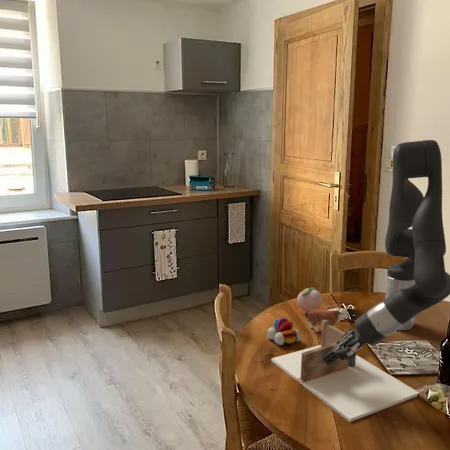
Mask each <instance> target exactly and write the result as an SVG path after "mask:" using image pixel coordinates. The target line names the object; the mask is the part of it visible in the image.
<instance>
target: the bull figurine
mask: <svg viewBox="0 0 450 450" xmlns="http://www.w3.org/2000/svg"><path fill="white" fill-rule="evenodd" d="M306 318H307V319H308V320H307V322H308V326H309V328H310V329H313V328H314V331H316V332H317V333H319V332H320V330H319V328H318V327H317V322H319V323H320V325H321V326H322V320H328V321H329V324H330V325H332V326H333V327H335V328H337V327H336V326H335V325H336V324H338V323H339V322H341V320H344V319H345V320H348V319H349V315H348V313H347V311H346V310H345V308H341V309H340V308H338V307H337V308H329V309H319V308H318V309H309V310H308V311H307V312H306Z"/></svg>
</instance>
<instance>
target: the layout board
mask: <svg viewBox="0 0 450 450" xmlns="http://www.w3.org/2000/svg"><path fill="white" fill-rule="evenodd" d="M335 327H336V326H335ZM335 327H333V326H332V325H330V323H329V321H328V320H322V325H321V339H320V340H321V341H320V344H318V345H316V346H311V347H308V348H305V349H301V350H298V351H293V352H290V353H288V354H283V355H279V356H275V357H272V358H271V359H270V361H271V362H272V363H273V364H274V365H276V366H277V367H279V369H281V370H282V371H283V372H284V373H286V374H288V376H290V377H291V378H292V379H294V380H295V381H296V382H297V381H298V382H297V383H298V384H300V385H301V384H302V385H301V386H302V387H304V388H305V389H307V390H308V391H309V392H310V393H311V394H313V395H315V397H316V398H318V399H320V401H322V402H323V403H324V404H326V405H327V406H328V407H329V408H331V409H332V410H333V411H335V412H336V413H337V414H338V415H340V416H341V417H342V419H345V420H346V421H347V422H349V423H351V422H354V421H356V420H359V419H362V418H364V417H367V416H369V415H373V414H375V413H377V412H380V411H382V410H385V409H388V408H390V407H393V406H396V405H398V404H401V403H403V402H405V401H406V402H407V401H408V400H411V399H413V398H416V397H418V396H417V395H418V394H419V395H420V392H419V391H417V390H415V389H414V388H413V387H410V386H409V385H407V384H406V383H404V382H402V381H401V380H399V379H397V378H395V377H394V376H392V375H391V374H389V373H387V372H385V371H383V370H382V369H381V368H379V367H377V366H375V365H373V364H372V363H371V362H369V361H367V360H366V359H364V358H363V357H360V356H359V355H357V350H356V351H355V352H354V353H355V354H356V356H355V357H354V358H350V359H349V366H346V367H343V368H341V369H338V370H335V371H332V372H329V373H326V374H323V375H321V376H318V377H315V378H312V379H309V380H306V381H302V380H301V359H302V353H303V352H307V351H310V350H313V349H316V348H319V347H323V346H326V345H329V344H332V343H335V342H338V341H339V340H340V338H341V337H342V336H343V335H344V334H345V333H346V332H344V331H342V330H340V329H339V328H337V327H336V328H335Z"/></svg>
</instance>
